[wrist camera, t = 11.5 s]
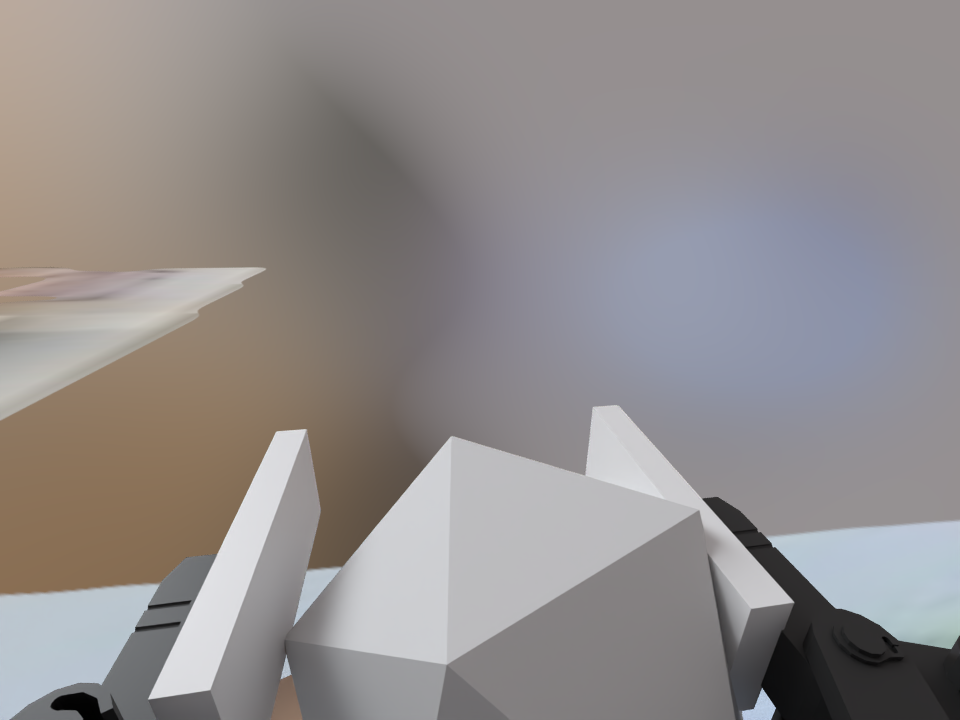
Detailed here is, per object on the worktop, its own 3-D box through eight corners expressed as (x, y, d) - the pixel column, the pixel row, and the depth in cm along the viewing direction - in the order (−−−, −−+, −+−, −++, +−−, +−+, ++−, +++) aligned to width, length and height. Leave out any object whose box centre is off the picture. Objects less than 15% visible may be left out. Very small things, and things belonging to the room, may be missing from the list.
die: (732, 718, 13) (604, 386, 15) (1129, 1369, 4) (693, 343, 6) (453, 792, 14) (361, 470, 15) (287, 1466, 5) (112, 544, 7)
